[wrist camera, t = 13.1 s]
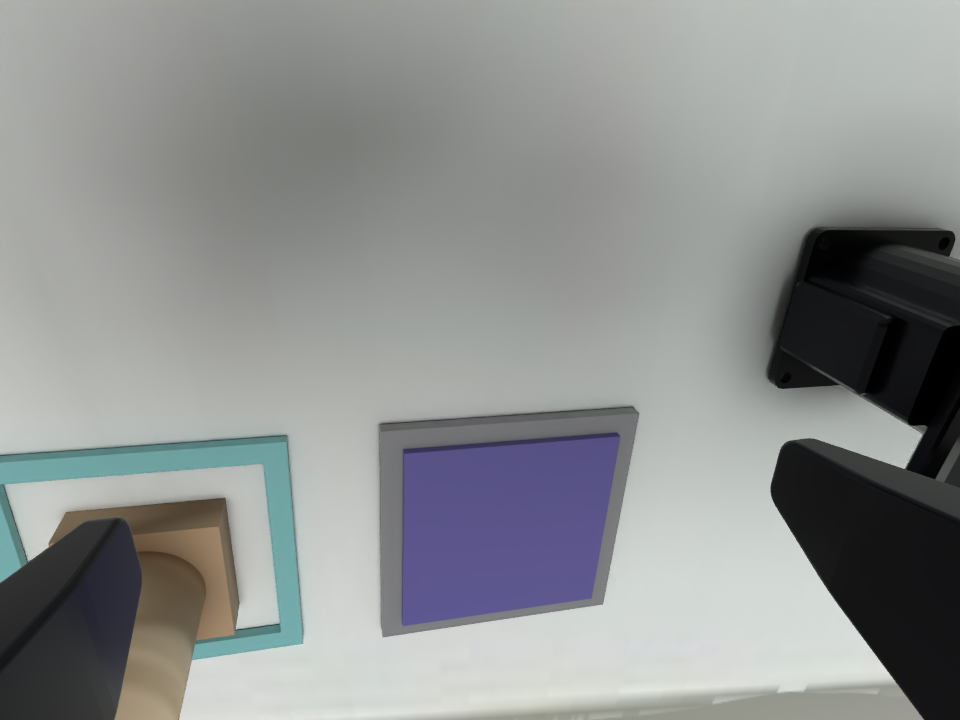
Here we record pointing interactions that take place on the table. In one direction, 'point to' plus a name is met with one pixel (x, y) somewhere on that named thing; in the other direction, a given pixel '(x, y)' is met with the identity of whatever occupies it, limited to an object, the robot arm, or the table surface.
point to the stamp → (172, 597)
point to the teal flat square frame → (3, 544)
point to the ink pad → (499, 515)
